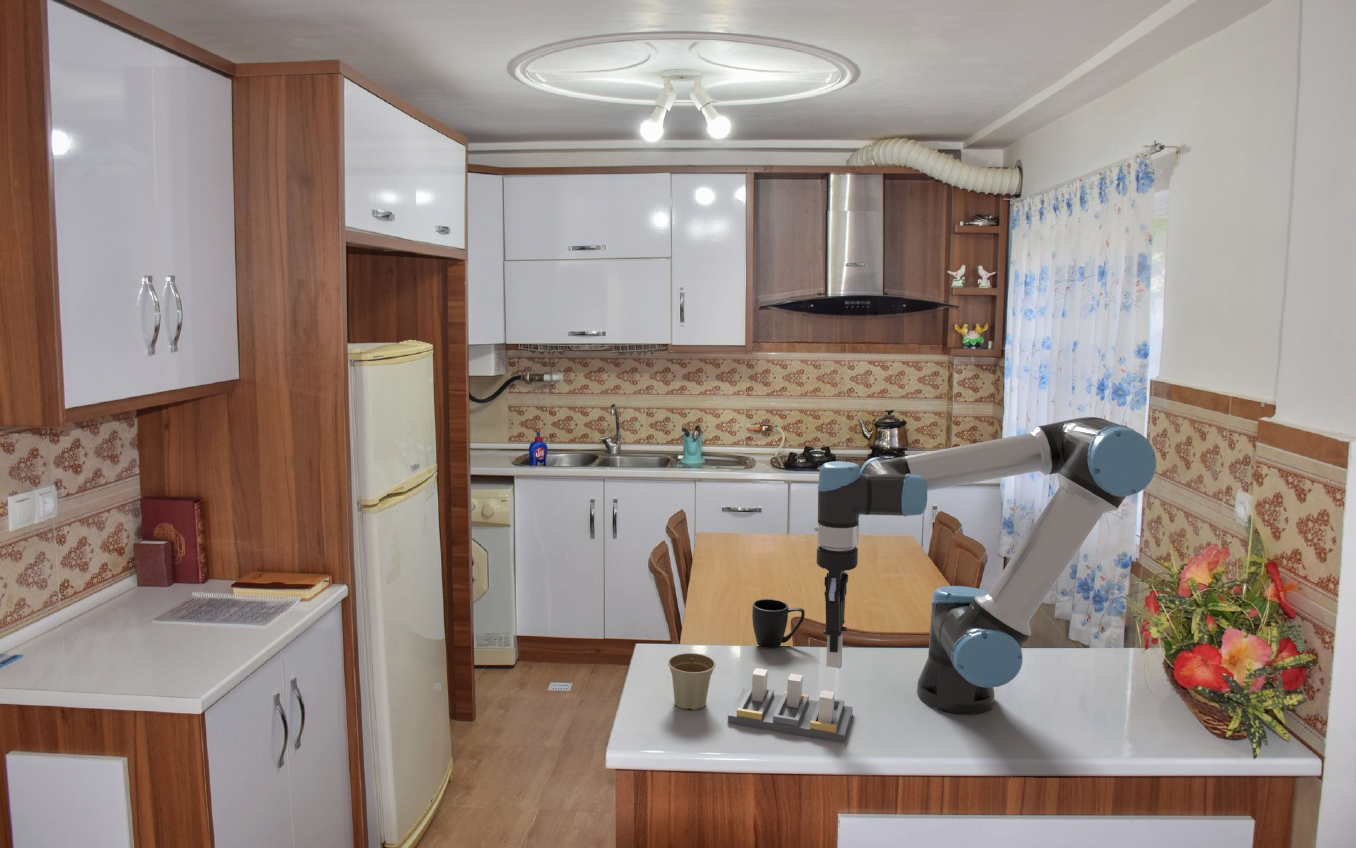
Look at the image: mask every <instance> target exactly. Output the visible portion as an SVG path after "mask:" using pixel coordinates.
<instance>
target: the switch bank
mask: <svg viewBox="0 0 1356 848" xmlns="http://www.w3.org/2000/svg"><path fill="white" fill-rule="evenodd" d="M809 697H810V695H809V694H804V693H802V702H801V704H800V707H799V708H794V707H788V706H787V691H786V690H785V691H784V692H783V694H775V689H774V688H768V687H767V696H766V698H765V700H764V702H758V701H752V685H749V688H748V689H743V688H742V691H741V692H740V694H739V696H738V697H737V699H736V701H735V703H734V704H733V706H732V707H731V709H730V711H729V713H728V714H727V723H729V724H732V725H738V726H739V725H740V726H744V727H745V726H746V727H751V728H755V729H756V728H757V729H761V730H767V731H773V732H779V733H784V734H788V735H789V734H790V735H796V736H801V737H807V738H813V739H818V740H825V741H830V742H835V743H842V744H845V740H846V737H847V733H848V731H849V727H850V723H851V720H852V717H853V709H854V708H853V706H849V705H845V700H840V699H835V698H834V715H833V722H832V724H829V723H823V722H818V716H819V700H818V701H817V700H812V699H809Z"/></svg>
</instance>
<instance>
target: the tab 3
mask: <svg viewBox="0 0 1356 848" xmlns="http://www.w3.org/2000/svg"><path fill="white" fill-rule="evenodd" d="M834 699H835V691H829V690H824V689H823V690H822V689H821V692H820V695H819V698H818V701H819V716H818V722H823V723H829V724H832V722H833V715H834Z"/></svg>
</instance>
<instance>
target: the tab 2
mask: <svg viewBox="0 0 1356 848" xmlns="http://www.w3.org/2000/svg"><path fill="white" fill-rule="evenodd" d="M803 677H804V675H803V674H796V673H790V674H789V675H788V678H787V686H786V687H787V689H786V690H787V706H788V707H794V708H799V707H800V704H801V702H802V694H803V681H804V680H803V679H804V678H803Z"/></svg>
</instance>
